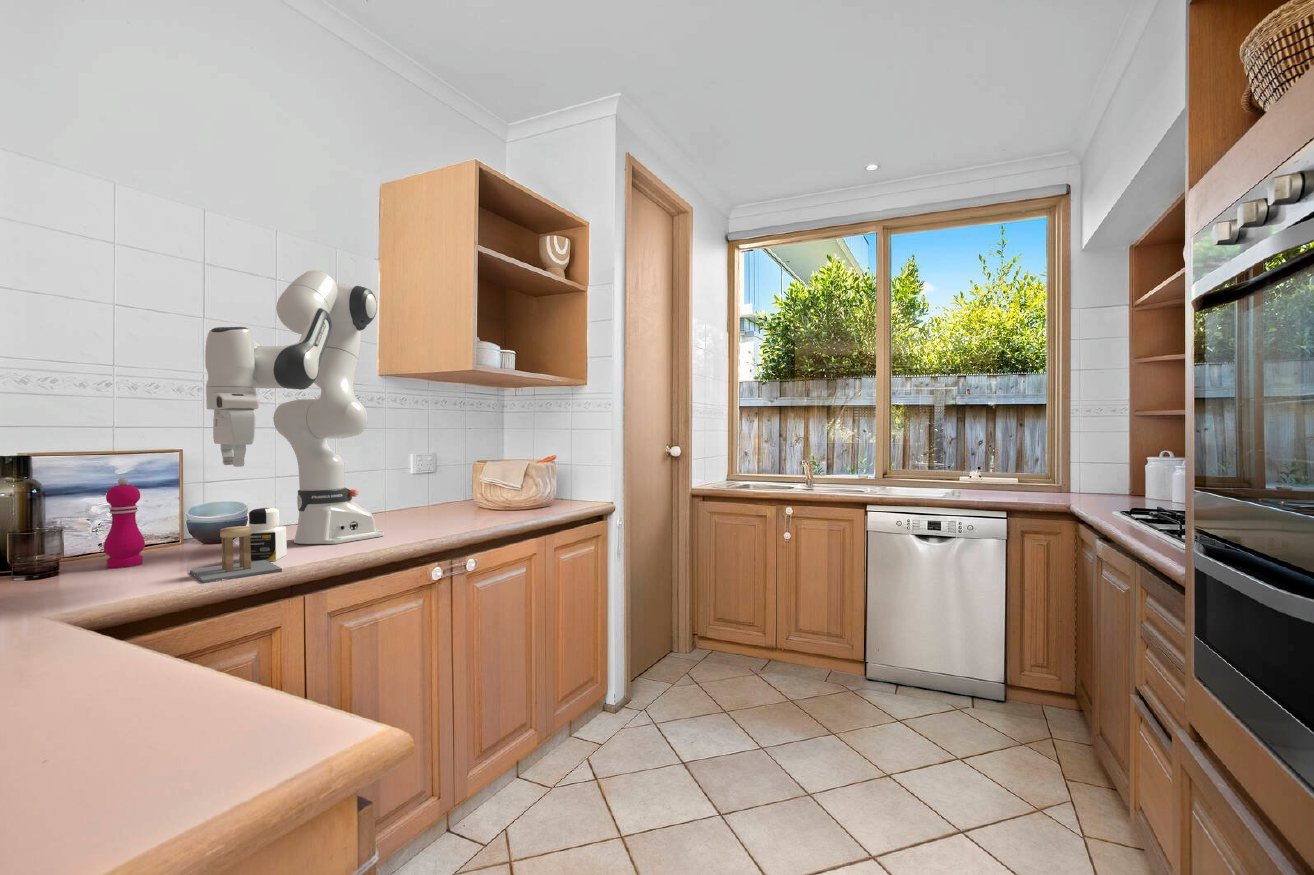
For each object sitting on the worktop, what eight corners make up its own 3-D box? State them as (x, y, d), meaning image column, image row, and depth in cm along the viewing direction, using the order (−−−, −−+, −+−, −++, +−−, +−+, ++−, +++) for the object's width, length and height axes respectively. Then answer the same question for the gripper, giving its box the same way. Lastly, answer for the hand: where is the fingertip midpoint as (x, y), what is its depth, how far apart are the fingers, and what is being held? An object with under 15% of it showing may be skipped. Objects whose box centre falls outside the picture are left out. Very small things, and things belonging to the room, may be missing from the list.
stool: (218, 569, 136) (217, 528, 135) (248, 564, 139) (247, 525, 139) (224, 573, 132) (223, 531, 131) (255, 568, 136) (254, 528, 135)
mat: (264, 562, 145) (264, 559, 145) (282, 571, 135) (282, 568, 135) (190, 572, 135) (190, 569, 135) (203, 583, 126) (202, 580, 125)
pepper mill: (153, 562, 147) (151, 476, 147) (124, 568, 140) (122, 479, 140) (125, 561, 148) (123, 476, 148) (95, 568, 141) (92, 479, 140)
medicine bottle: (241, 563, 145) (240, 511, 144) (254, 557, 152) (253, 507, 151) (275, 561, 146) (274, 509, 146) (287, 555, 153) (286, 506, 153)
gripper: (204, 402, 140) (205, 464, 140) (224, 399, 126) (226, 468, 126) (237, 403, 144) (239, 463, 145) (260, 399, 130) (262, 466, 130)
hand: (233, 465), depth 135 cm, fingers open, 8 cm apart
